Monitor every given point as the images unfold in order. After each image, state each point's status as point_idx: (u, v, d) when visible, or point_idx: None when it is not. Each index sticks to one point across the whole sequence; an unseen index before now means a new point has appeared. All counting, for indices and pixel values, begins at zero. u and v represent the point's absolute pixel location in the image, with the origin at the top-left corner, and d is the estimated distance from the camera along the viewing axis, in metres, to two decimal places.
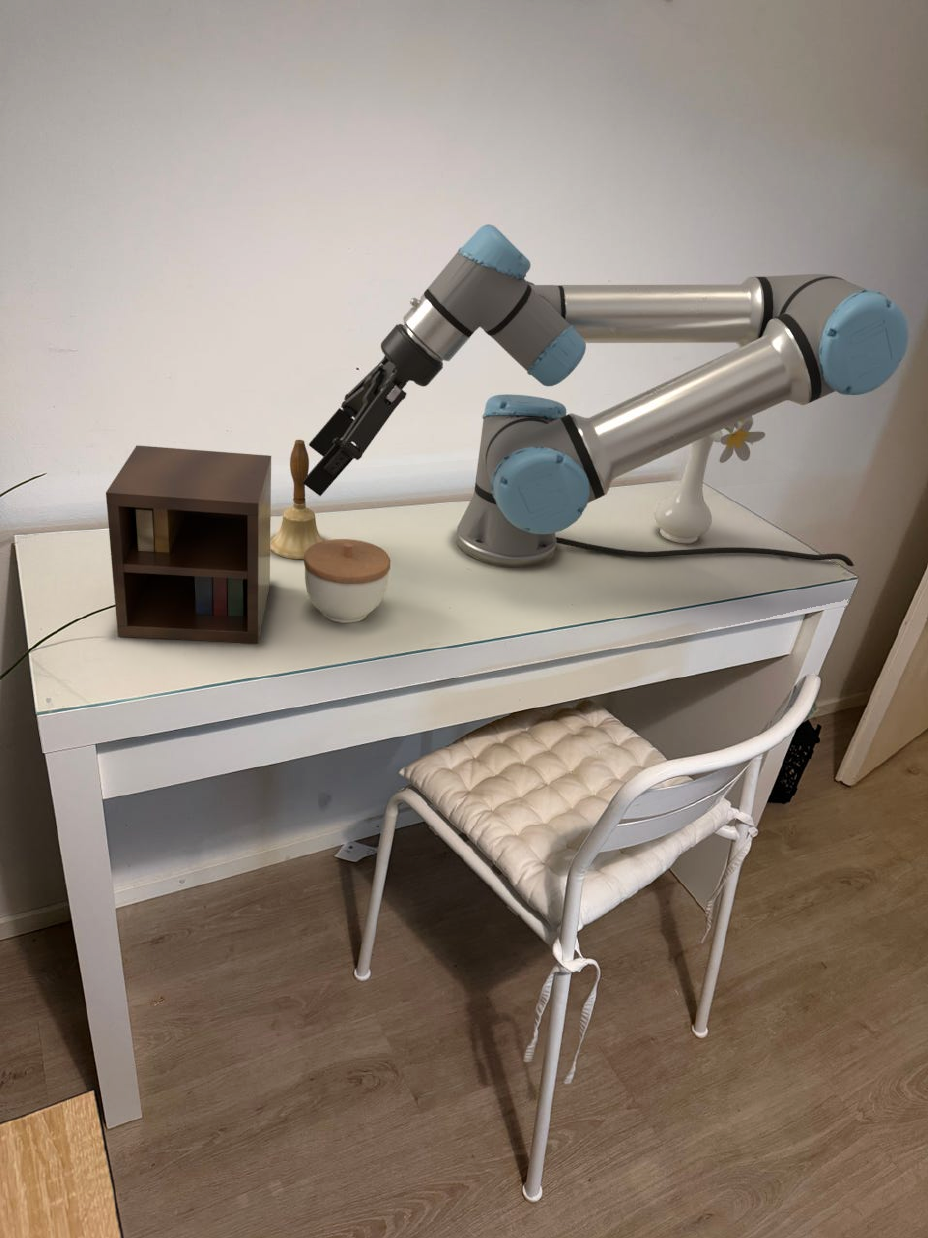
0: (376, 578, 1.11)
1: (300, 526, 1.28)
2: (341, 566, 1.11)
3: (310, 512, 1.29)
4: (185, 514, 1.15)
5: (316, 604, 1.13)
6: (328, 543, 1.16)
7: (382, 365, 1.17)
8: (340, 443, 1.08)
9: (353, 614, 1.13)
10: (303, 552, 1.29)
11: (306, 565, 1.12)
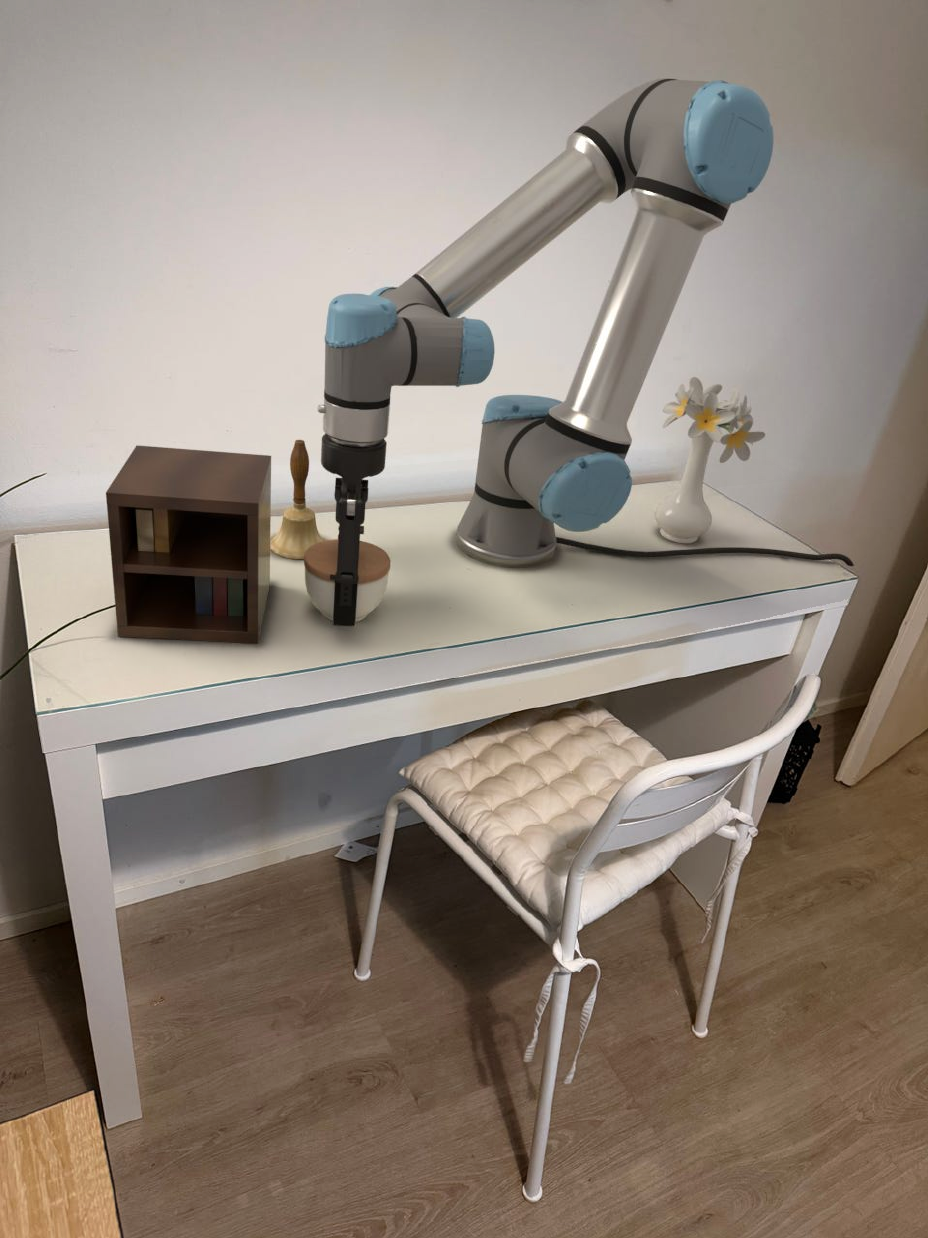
0: (376, 578, 1.11)
1: (300, 526, 1.28)
2: None
3: (310, 512, 1.29)
4: (185, 514, 1.15)
5: (316, 604, 1.13)
6: (328, 543, 1.16)
7: None
8: None
9: None
10: (303, 552, 1.29)
11: (306, 565, 1.12)
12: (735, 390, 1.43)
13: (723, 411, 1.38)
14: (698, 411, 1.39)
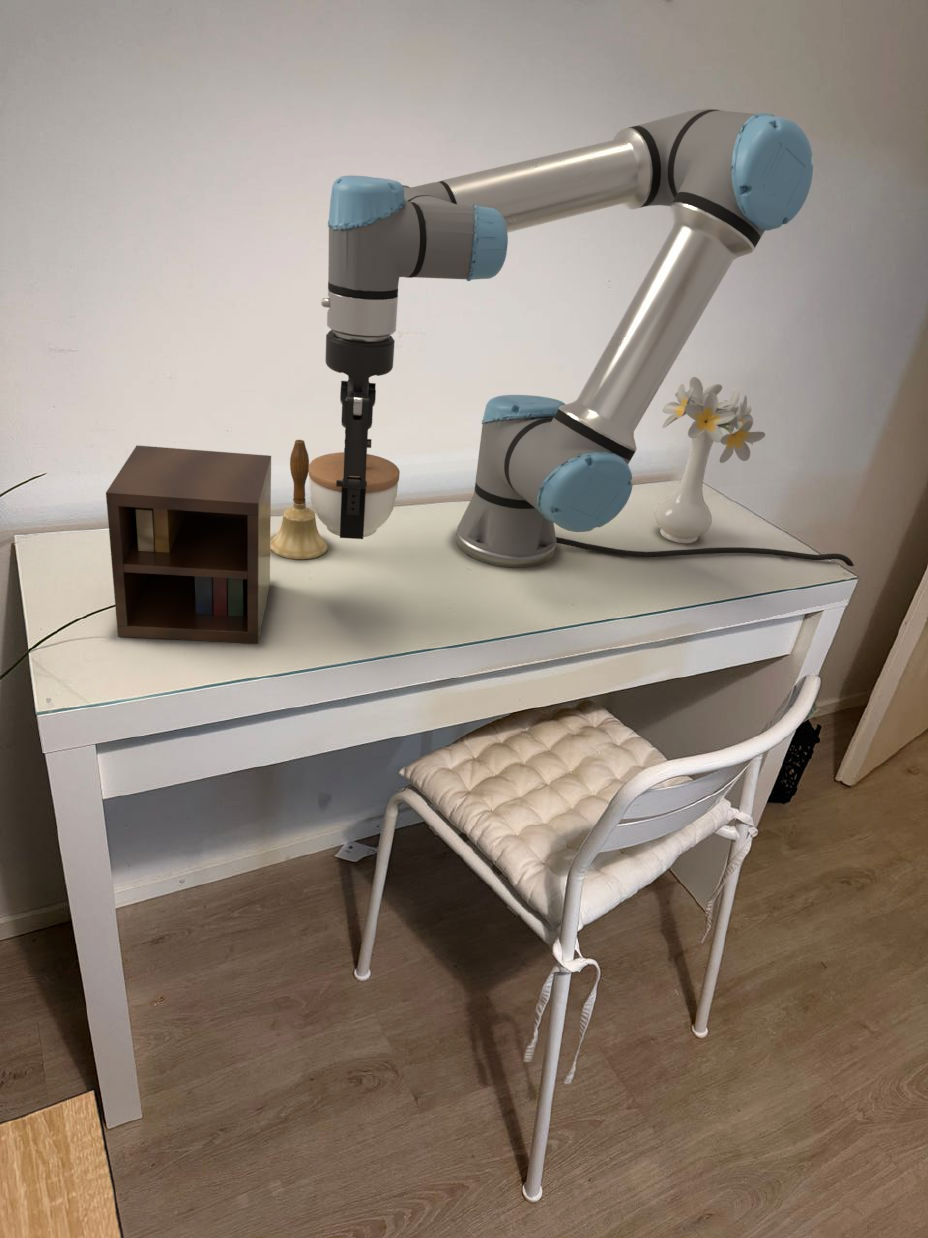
0: (385, 488, 1.06)
1: (300, 526, 1.28)
2: None
3: (310, 512, 1.29)
4: (185, 514, 1.15)
5: (322, 517, 1.08)
6: (334, 455, 1.11)
7: None
8: (342, 484, 1.01)
9: None
10: (303, 552, 1.29)
11: (311, 475, 1.06)
12: (735, 390, 1.43)
13: (723, 411, 1.38)
14: (698, 411, 1.39)
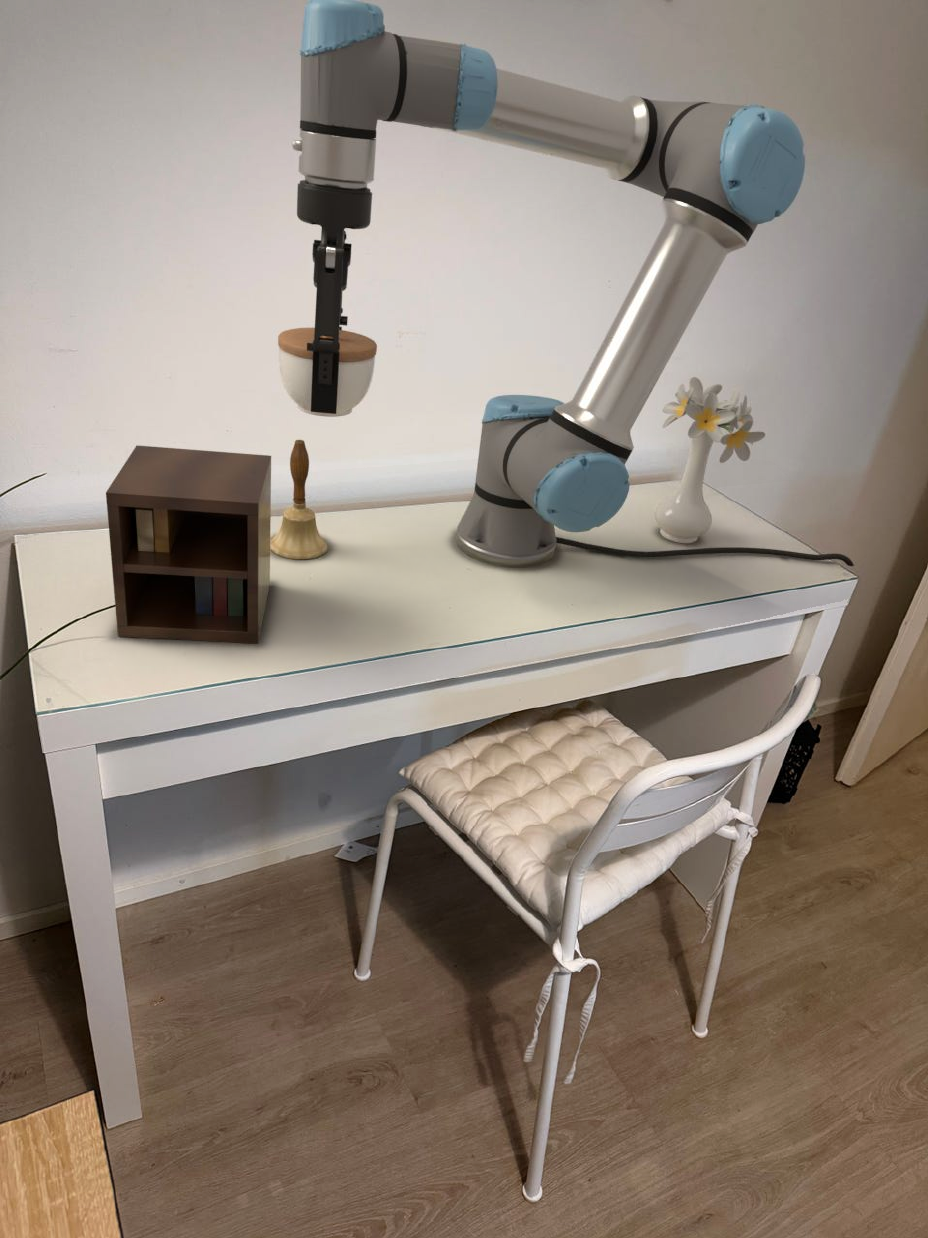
0: (360, 358, 0.98)
1: (300, 526, 1.28)
2: None
3: (310, 512, 1.29)
4: (185, 514, 1.15)
5: (292, 392, 1.00)
6: (306, 328, 1.03)
7: None
8: None
9: None
10: (303, 552, 1.29)
11: (280, 343, 0.98)
12: (735, 390, 1.43)
13: (723, 411, 1.38)
14: (698, 411, 1.39)
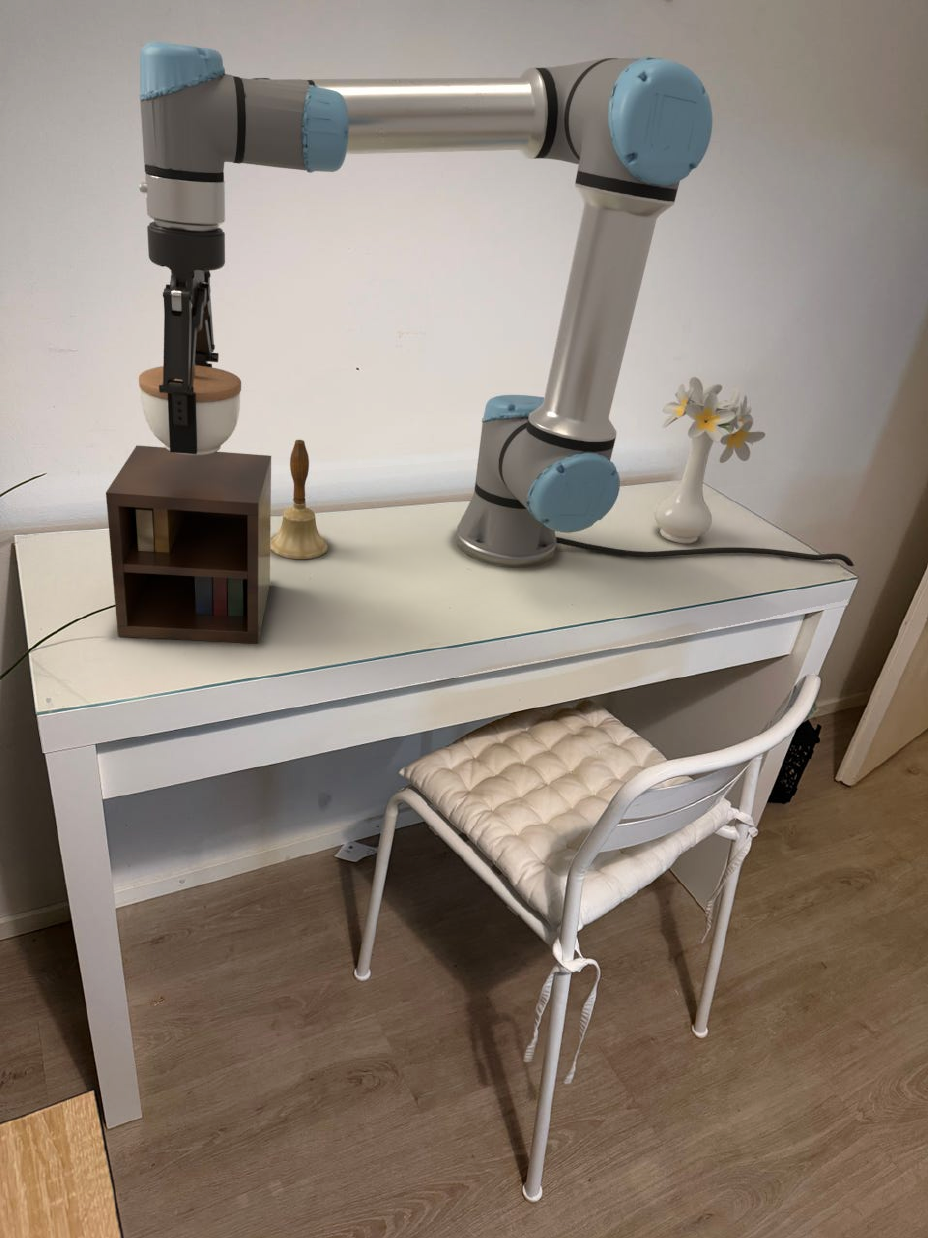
0: (219, 398, 0.97)
1: (300, 526, 1.28)
2: None
3: (310, 512, 1.29)
4: (185, 514, 1.15)
5: (154, 431, 0.99)
6: None
7: None
8: None
9: None
10: (303, 552, 1.29)
11: (140, 383, 0.97)
12: (735, 390, 1.43)
13: (723, 411, 1.38)
14: (698, 411, 1.39)
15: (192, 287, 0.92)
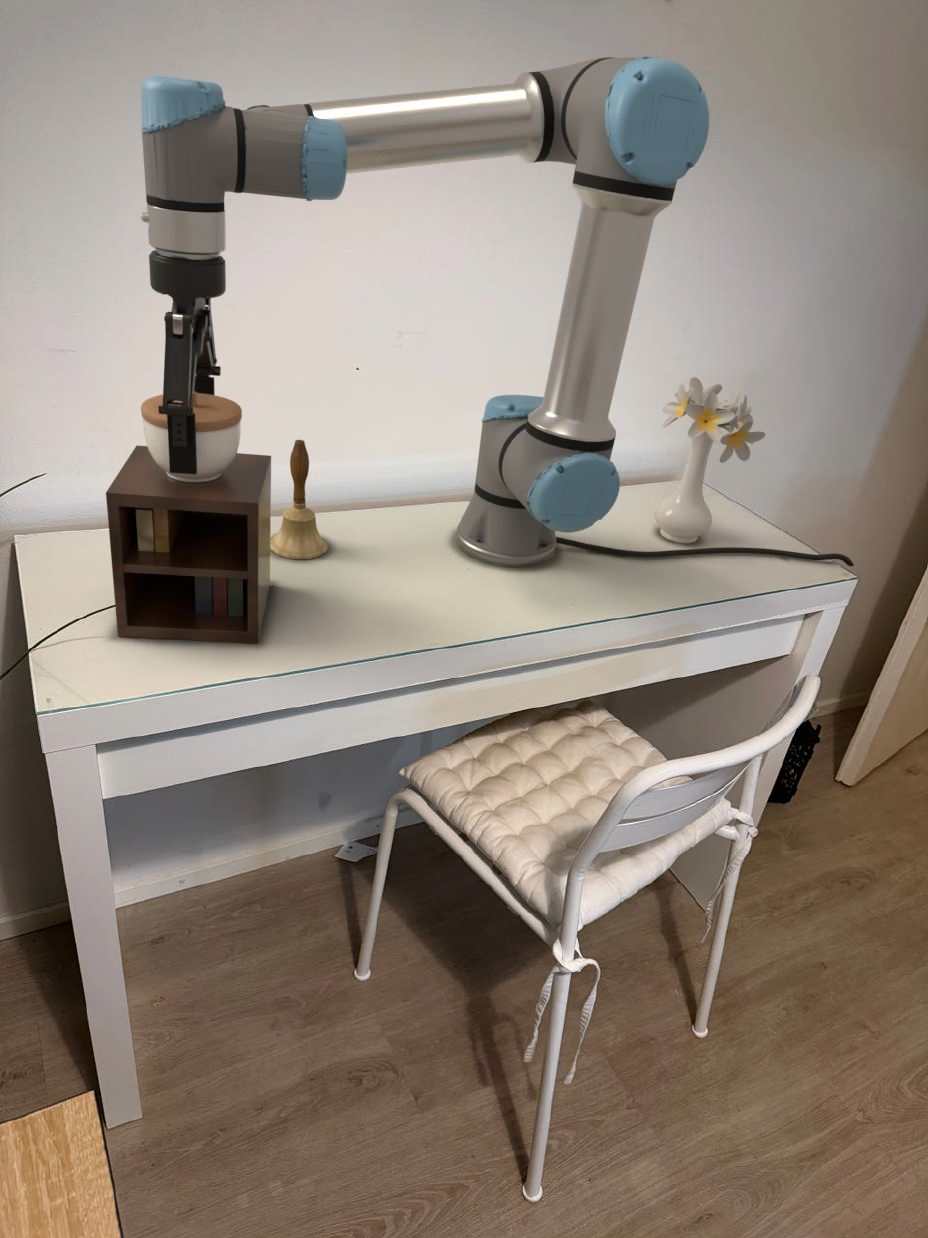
0: (220, 427, 0.99)
1: (300, 526, 1.28)
2: None
3: (310, 512, 1.29)
4: (185, 514, 1.15)
5: (156, 459, 1.01)
6: None
7: None
8: None
9: (197, 470, 1.01)
10: (303, 552, 1.29)
11: (142, 412, 0.99)
12: (735, 390, 1.43)
13: (723, 411, 1.38)
14: (698, 411, 1.39)
15: (193, 314, 0.93)
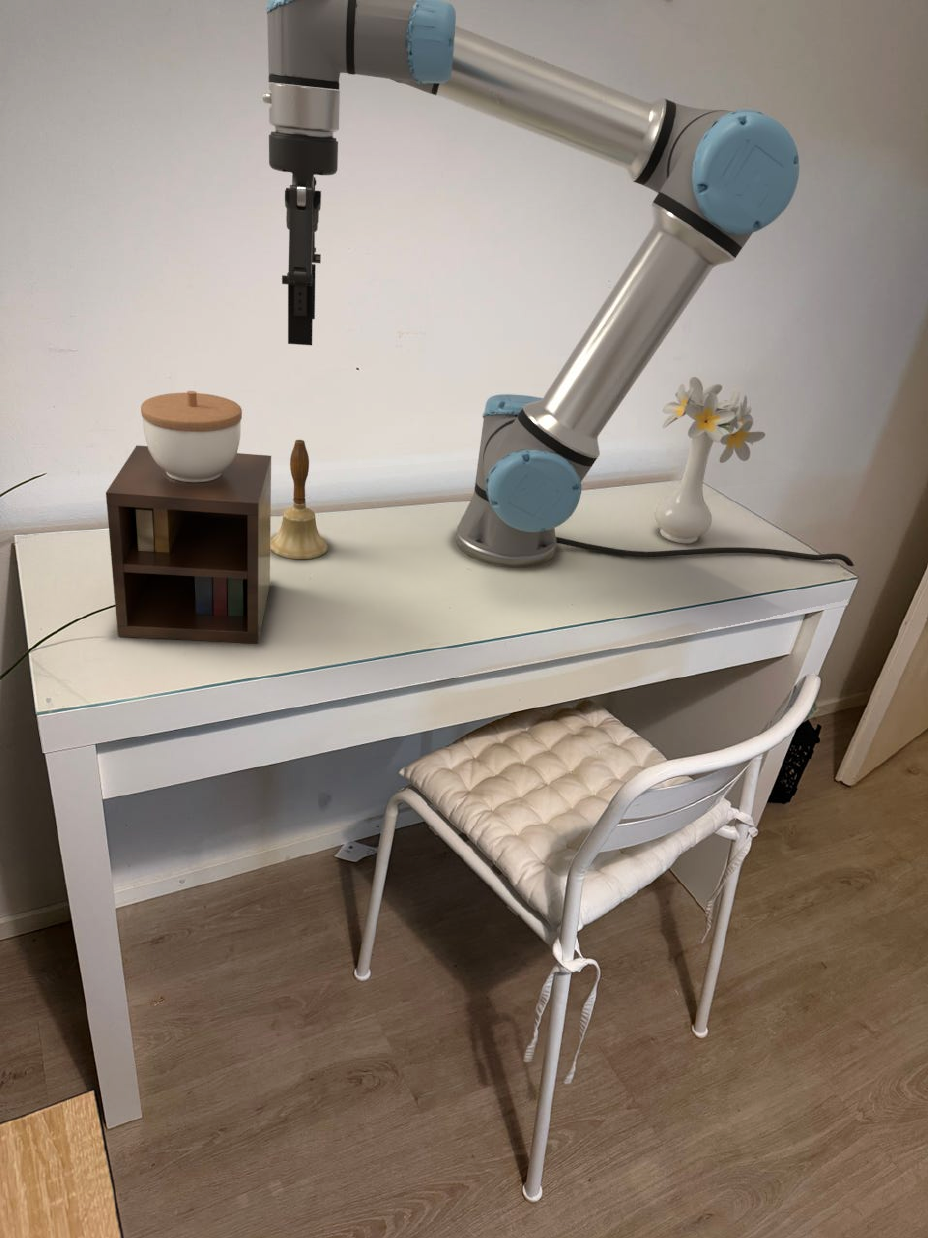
0: (220, 427, 0.99)
1: (300, 526, 1.28)
2: (180, 412, 0.99)
3: (310, 512, 1.29)
4: (185, 514, 1.15)
5: (156, 459, 1.01)
6: (174, 394, 1.04)
7: None
8: None
9: (197, 470, 1.01)
10: (303, 552, 1.29)
11: (142, 412, 0.99)
12: (735, 390, 1.43)
13: (723, 411, 1.38)
14: (698, 411, 1.39)
15: None
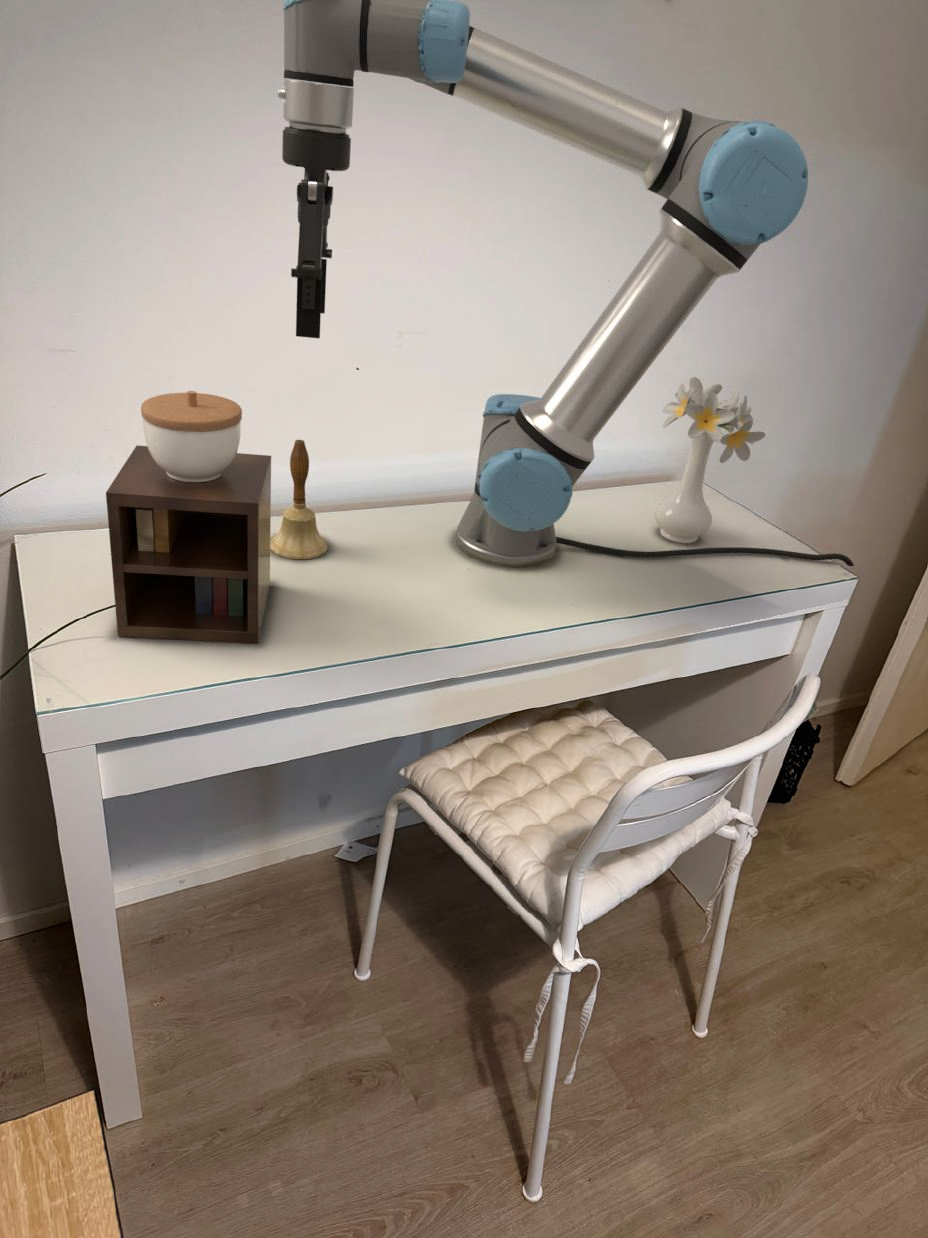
0: (220, 427, 0.99)
1: (300, 526, 1.28)
2: (180, 412, 0.99)
3: (310, 512, 1.29)
4: (185, 514, 1.15)
5: (156, 459, 1.01)
6: (174, 394, 1.04)
7: None
8: None
9: (197, 470, 1.01)
10: (303, 552, 1.29)
11: (142, 412, 0.99)
12: (735, 390, 1.43)
13: (723, 411, 1.38)
14: (698, 411, 1.39)
15: None
